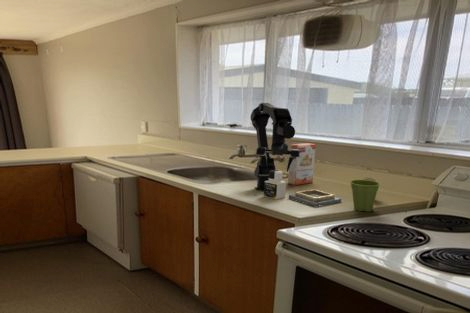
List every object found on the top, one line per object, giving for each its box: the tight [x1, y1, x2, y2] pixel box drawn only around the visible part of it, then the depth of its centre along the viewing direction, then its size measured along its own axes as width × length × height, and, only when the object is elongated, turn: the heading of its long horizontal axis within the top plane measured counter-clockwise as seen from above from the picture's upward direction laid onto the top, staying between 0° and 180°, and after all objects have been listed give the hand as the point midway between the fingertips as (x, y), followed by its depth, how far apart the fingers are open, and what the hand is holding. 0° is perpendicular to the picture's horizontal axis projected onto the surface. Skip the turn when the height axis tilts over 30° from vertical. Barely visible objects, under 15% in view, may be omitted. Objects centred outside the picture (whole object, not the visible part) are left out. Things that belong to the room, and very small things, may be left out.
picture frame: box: [288, 188, 342, 207], centre depth 171 cm, size 16×16×3 cm
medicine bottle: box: [263, 169, 287, 200], centre depth 174 cm, size 7×7×12 cm
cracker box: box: [287, 142, 316, 186], centre depth 204 cm, size 14×6×21 cm, turn 129°
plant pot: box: [349, 179, 382, 213], centre depth 158 cm, size 12×12×11 cm
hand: (276, 171), depth 173 cm, fingers open, 9 cm apart
